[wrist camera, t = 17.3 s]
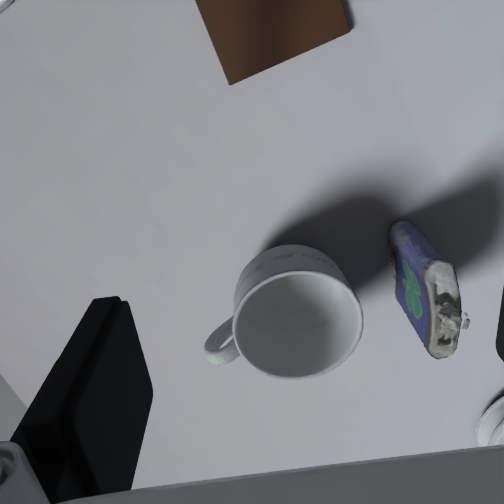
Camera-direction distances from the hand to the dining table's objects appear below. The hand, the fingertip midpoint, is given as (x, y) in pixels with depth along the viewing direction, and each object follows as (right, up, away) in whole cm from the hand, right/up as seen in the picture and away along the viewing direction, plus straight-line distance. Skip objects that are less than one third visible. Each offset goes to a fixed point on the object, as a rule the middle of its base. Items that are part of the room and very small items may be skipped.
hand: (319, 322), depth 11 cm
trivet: (-1, +21, +21) cm, 30 cm away
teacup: (0, -2, +31) cm, 32 cm away
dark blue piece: (+13, +1, +31) cm, 33 cm away
